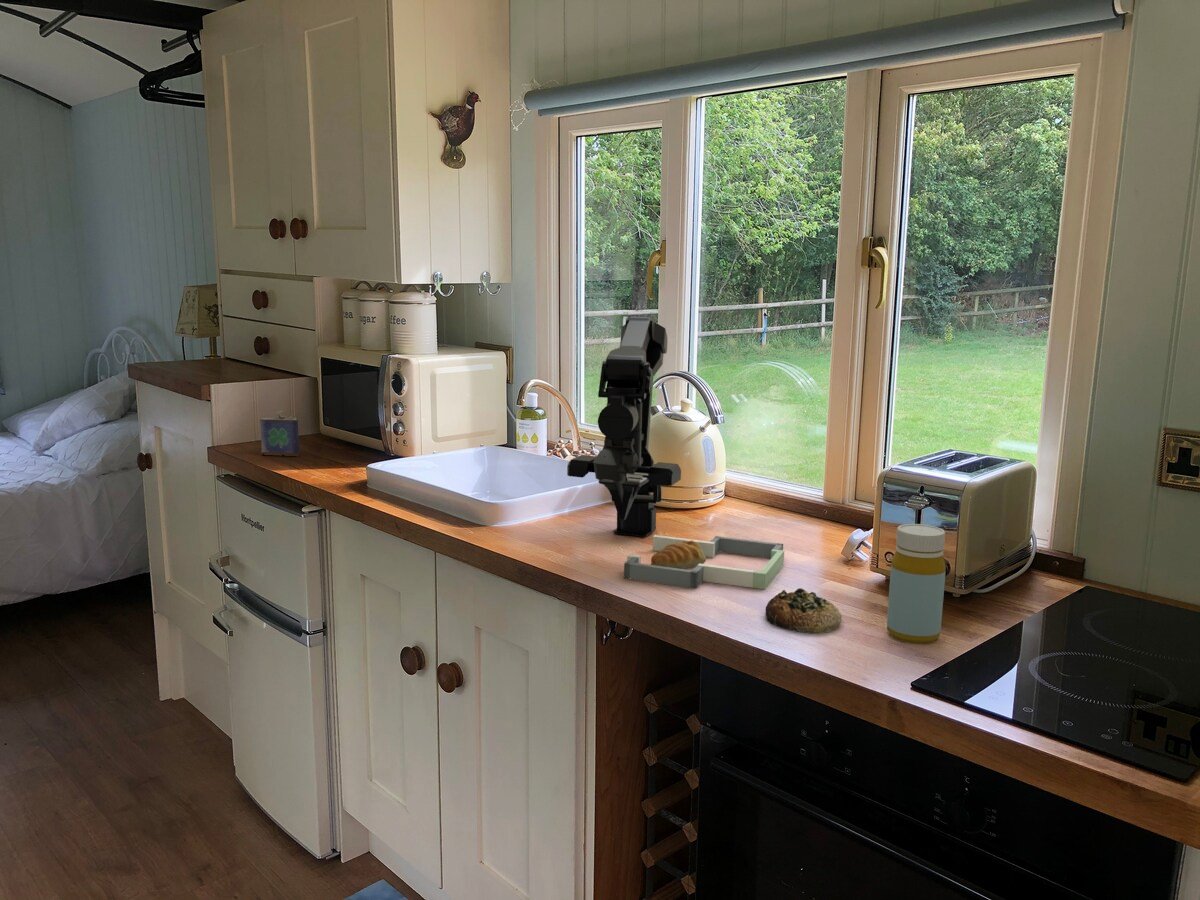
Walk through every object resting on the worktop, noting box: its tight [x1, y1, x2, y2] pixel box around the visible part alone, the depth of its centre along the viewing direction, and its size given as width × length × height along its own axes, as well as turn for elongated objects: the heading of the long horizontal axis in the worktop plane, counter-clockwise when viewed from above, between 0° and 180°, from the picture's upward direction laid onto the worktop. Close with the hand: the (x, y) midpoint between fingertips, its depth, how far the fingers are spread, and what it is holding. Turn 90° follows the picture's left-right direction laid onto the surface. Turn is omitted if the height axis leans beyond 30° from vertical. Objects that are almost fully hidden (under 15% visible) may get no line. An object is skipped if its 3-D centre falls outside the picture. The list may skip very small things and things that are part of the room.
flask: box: [259, 410, 301, 453], centre depth 253 cm, size 10×3×12 cm, turn 84°
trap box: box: [623, 534, 785, 590], centre depth 164 cm, size 23×22×2 cm
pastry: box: [650, 541, 707, 570], centre depth 166 cm, size 9×7×4 cm
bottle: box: [886, 523, 947, 645], centre depth 134 cm, size 7×7×15 cm
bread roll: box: [765, 587, 843, 634], centre depth 141 cm, size 11×11×5 cm
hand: (622, 519), depth 169 cm, fingers closed
